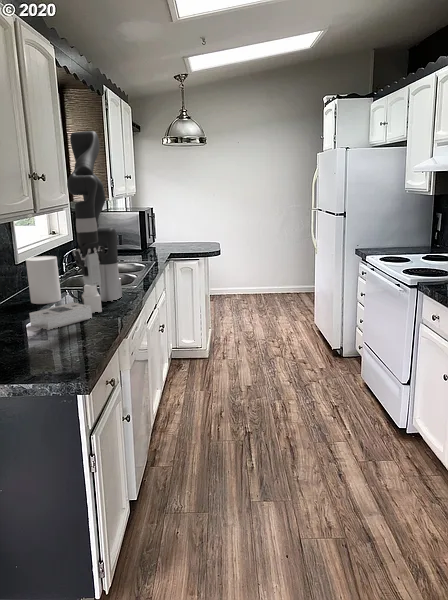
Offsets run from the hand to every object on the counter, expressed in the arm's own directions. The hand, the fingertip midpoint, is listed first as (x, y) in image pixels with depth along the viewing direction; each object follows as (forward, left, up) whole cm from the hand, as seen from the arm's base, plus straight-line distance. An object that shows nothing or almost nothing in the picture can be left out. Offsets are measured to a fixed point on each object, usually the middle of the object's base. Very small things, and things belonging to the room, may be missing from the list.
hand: (91, 274), depth 195 cm
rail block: (+7, -13, -19) cm, 24 cm away
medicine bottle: (-10, -16, -19) cm, 27 cm away
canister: (-11, -52, -19) cm, 56 cm away
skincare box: (0, 0, -4) cm, 4 cm away
